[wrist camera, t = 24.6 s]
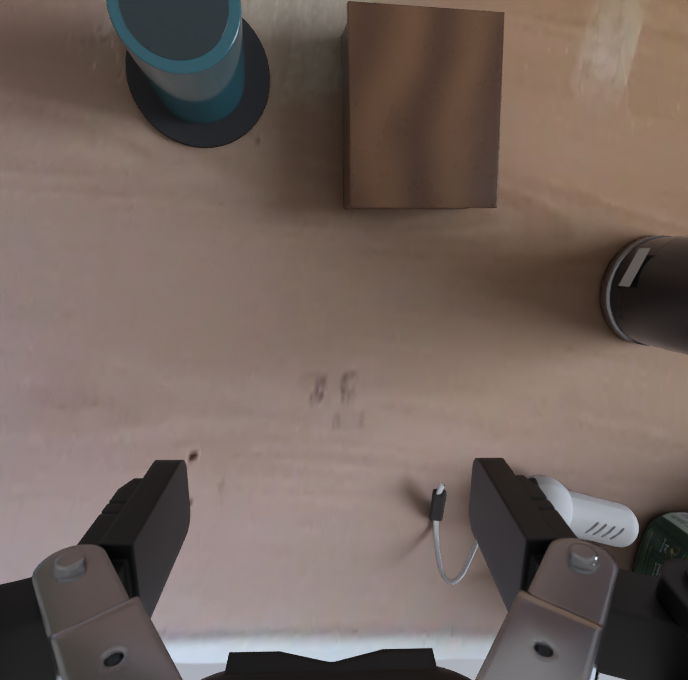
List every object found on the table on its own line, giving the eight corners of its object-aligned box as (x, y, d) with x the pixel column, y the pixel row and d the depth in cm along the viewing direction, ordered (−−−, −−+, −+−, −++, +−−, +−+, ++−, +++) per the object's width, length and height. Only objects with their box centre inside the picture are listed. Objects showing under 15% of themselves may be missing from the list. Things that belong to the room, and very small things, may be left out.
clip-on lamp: (403, 550, 47) (587, 596, 47) (407, 599, 41) (619, 653, 40) (437, 439, 44) (632, 488, 44) (446, 473, 38) (674, 530, 38)
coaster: (266, 3, 34) (266, 1, 34) (272, 149, 36) (272, 148, 36) (120, -6, 33) (118, -10, 32) (133, 146, 34) (132, 145, 34)
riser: (475, 40, 37) (504, 12, 33) (470, 212, 39) (496, 207, 35) (336, 31, 35) (347, 0, 31) (339, 212, 38) (350, 207, 33)
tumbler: (243, 26, 34) (237, -66, 24) (247, 125, 35) (244, 75, 25) (145, 20, 33) (98, -78, 23) (153, 122, 34) (111, 70, 24)
